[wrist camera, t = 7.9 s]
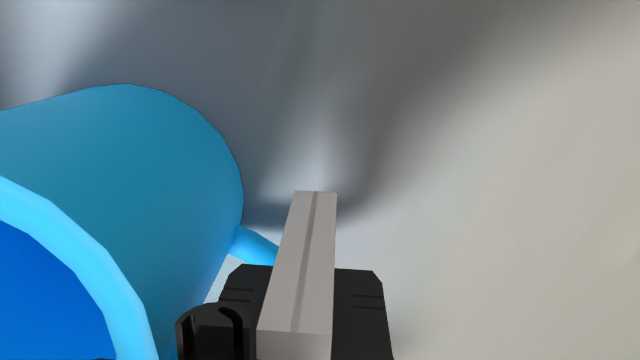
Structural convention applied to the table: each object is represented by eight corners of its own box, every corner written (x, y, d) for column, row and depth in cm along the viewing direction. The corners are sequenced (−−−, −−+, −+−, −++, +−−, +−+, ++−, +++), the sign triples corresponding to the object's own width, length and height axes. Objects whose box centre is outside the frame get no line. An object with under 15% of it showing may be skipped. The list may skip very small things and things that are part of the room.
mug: (18, 242, 17) (-235, 416, 10) (48, 46, 15) (-272, 74, 7) (295, 338, 18) (262, 564, 11) (372, 172, 16) (402, 317, 8)
